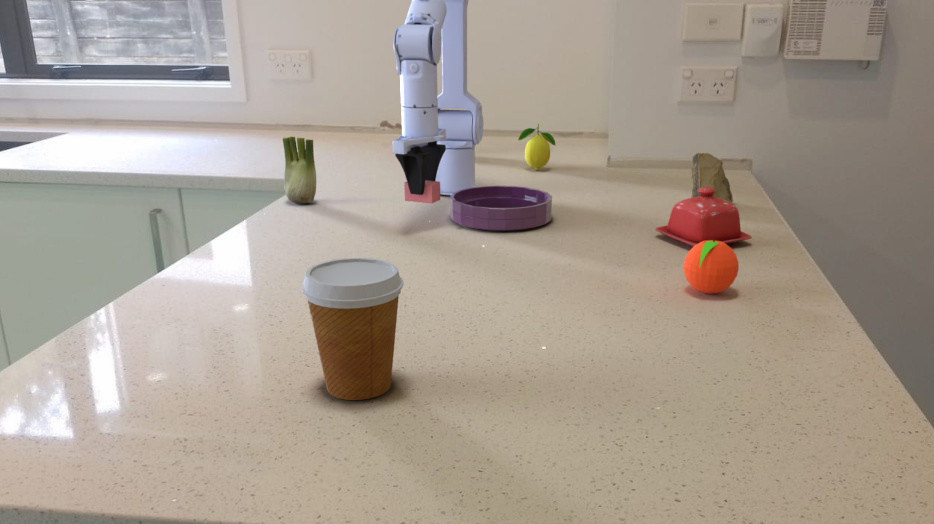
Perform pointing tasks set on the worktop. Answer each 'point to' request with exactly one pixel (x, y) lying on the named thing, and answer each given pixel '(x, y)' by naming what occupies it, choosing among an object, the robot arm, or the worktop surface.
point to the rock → (709, 176)
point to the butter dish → (704, 220)
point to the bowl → (501, 208)
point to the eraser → (428, 196)
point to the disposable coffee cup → (354, 323)
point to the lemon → (537, 148)
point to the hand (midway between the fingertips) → (421, 191)
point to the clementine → (711, 266)
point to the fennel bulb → (299, 170)
